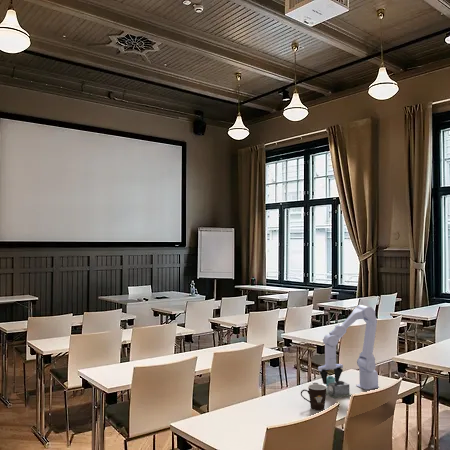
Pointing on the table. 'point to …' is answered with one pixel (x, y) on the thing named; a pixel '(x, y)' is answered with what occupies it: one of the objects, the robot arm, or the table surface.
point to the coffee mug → (316, 396)
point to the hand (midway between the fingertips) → (330, 383)
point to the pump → (330, 380)
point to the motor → (337, 389)
